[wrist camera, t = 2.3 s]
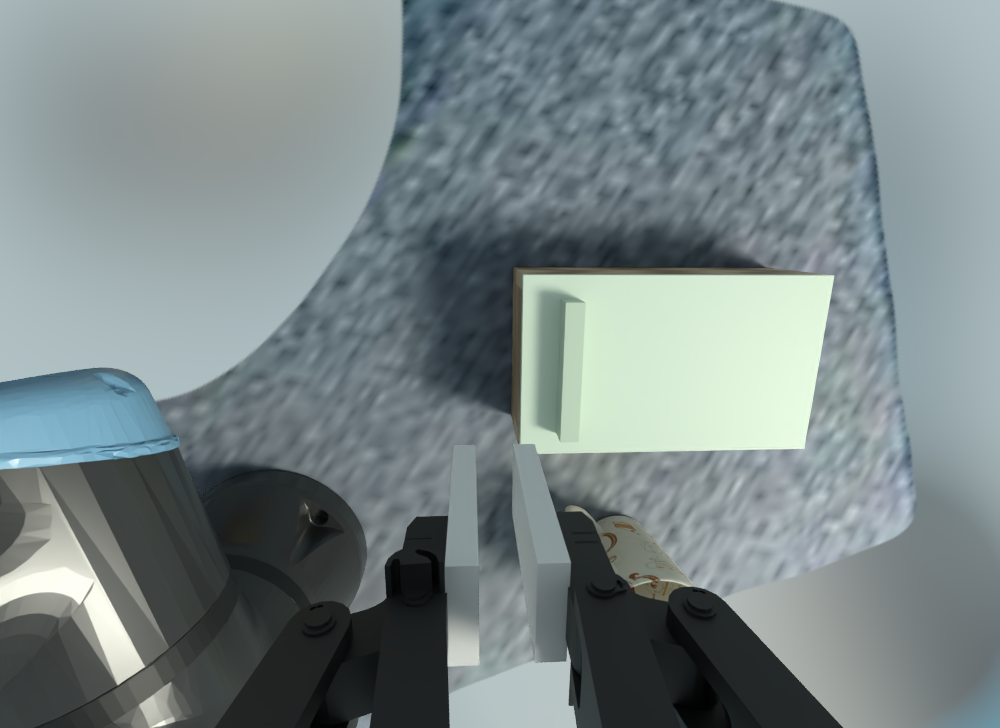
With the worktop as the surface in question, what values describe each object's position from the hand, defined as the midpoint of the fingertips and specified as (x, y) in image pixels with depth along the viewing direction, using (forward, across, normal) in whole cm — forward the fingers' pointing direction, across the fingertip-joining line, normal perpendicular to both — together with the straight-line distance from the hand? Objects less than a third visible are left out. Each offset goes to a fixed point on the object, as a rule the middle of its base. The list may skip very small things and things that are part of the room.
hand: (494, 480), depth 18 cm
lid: (+16, +12, 0) cm, 20 cm away
